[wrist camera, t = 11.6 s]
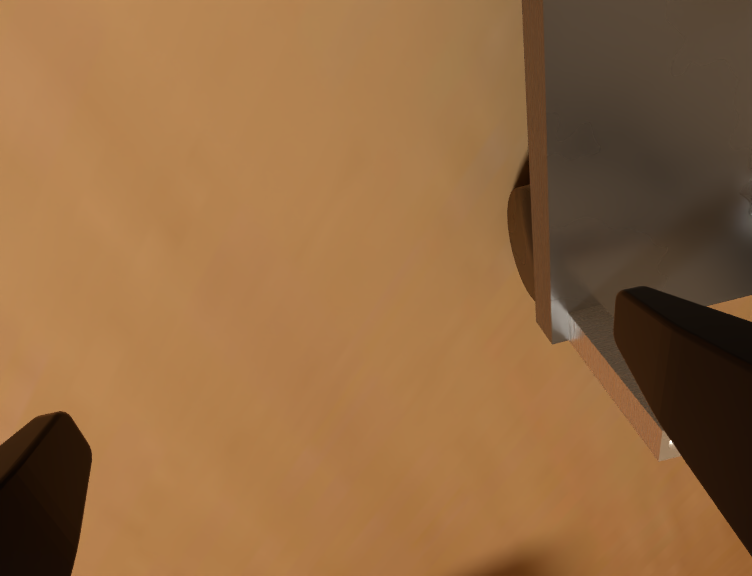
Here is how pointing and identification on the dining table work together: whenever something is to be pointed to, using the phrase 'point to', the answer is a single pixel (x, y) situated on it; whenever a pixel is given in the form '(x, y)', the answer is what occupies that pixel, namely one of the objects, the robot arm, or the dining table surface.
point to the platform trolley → (633, 169)
